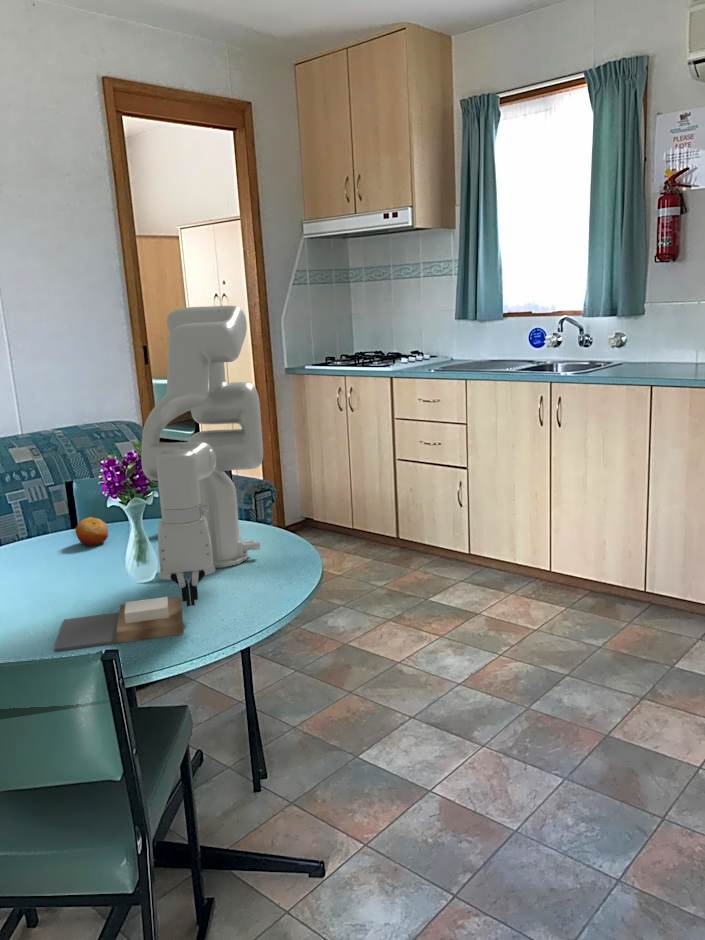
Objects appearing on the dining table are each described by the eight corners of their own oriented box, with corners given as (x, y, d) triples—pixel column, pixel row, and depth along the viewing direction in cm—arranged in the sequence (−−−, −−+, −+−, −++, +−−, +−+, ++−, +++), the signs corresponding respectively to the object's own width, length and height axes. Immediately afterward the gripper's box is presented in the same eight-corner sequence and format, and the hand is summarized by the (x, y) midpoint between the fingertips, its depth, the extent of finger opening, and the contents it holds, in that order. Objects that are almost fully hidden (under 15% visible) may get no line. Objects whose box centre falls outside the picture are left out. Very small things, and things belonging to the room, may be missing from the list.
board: (181, 606, 160) (180, 597, 160) (183, 633, 147) (182, 623, 146) (121, 614, 157) (120, 605, 157) (117, 642, 144) (116, 632, 144)
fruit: (91, 531, 212) (98, 509, 208) (109, 549, 209) (115, 527, 205) (65, 539, 206) (71, 516, 202) (83, 558, 203) (89, 535, 199)
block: (168, 606, 155) (167, 596, 155) (168, 617, 150) (167, 607, 149) (127, 611, 154) (125, 602, 153) (125, 623, 148) (124, 613, 147)
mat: (121, 614, 157) (121, 612, 157) (117, 642, 144) (117, 640, 144) (64, 621, 155) (64, 619, 155) (54, 651, 142) (54, 648, 142)
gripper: (219, 505, 154) (227, 592, 158) (142, 513, 151) (151, 601, 155) (222, 514, 147) (230, 605, 151) (141, 523, 144) (151, 616, 148)
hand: (190, 603), depth 153 cm, fingers closed
